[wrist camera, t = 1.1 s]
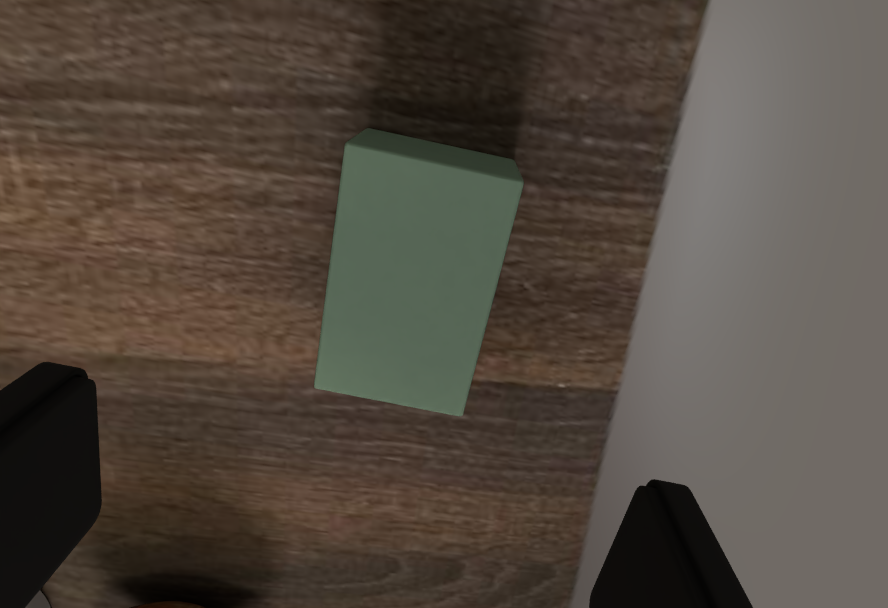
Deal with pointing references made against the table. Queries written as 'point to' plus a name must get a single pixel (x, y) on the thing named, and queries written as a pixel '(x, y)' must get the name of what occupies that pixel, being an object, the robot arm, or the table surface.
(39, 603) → the cup
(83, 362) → the table surface
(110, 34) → the table surface
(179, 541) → the table surface
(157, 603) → the seashell
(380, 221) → the green block
